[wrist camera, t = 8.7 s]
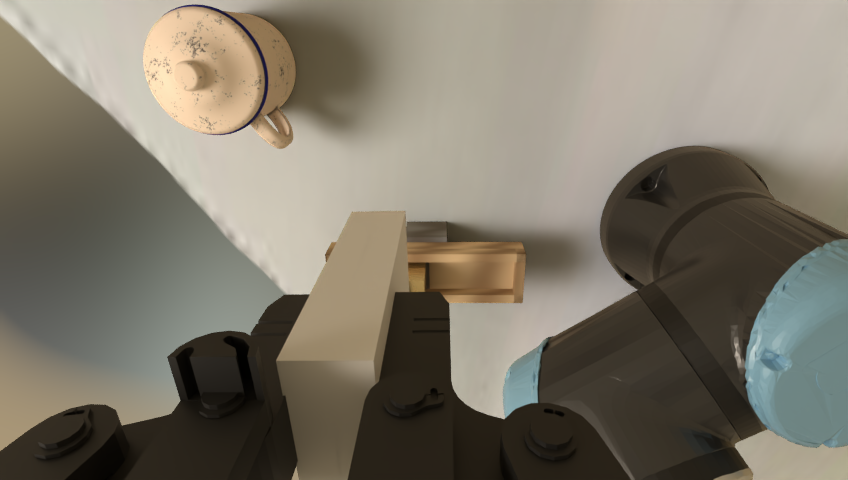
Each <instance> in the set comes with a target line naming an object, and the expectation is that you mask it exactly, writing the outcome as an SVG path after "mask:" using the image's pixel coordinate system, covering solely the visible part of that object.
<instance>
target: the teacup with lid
mask: <svg viewBox="0 0 848 480" xmlns="http://www.w3.org/2000/svg"><path fill="white" fill-rule="evenodd" d="M143 60H144V70H145V75H146V79H147V82H148V84H149V87H150V89H151V91H152V93H153V95H154V97H155V98H156V100H157V101H158V103H159V104H160V105H161V107H162V108H163V109H164V110H165V111H166V112H167V113H168V114H169V115H170V116H171V117H172V118H174V119H175V120H176V121H178V122H179V123H181V124H182V125H184V126H186V127H188V128H190V129H192V130H195V131H198V132H201V133H205V134H211V135H225V134H231V133H234V132H237V131H239V130H241V129H243V128H245V127H246V126H248V125H249V124H251V126H252V127H253V128H254V129H255V130H256V132H257V133H258V134H259V135H260V136H261V137H262V138H263V139H264V140H265V141H266V142H267V143H269V144H270V145H272V146H273V147H276V148H279V149H282V148H285V147H287V146H288V145H289V144H290V143H291V142H292V140H293V131H292V127H291V125H290V123H289V121H288V119H287V118H286V116H285V115H284V114H283V112H282V111H281V110H280V107H281V106H282V105H283V104H284V103H285V102H286V101H287V99H288V98H289V96H290V94H291V92H292V90H293V87H294V84H295V78H296V67H295V60H294V57H293V53H292V51H291V48H290V46H289V44H288V43H287V41H286V39H285V38H284V37H283V35H282V34H281V33H280V32H279V31H278V30H277V29H276V28H275V27H274V26H273V25H272V24H270V23H269V22H267V21H265V20H264V19H262V18H260V17H257V16H254V15H250V14H244V13H235V12H226V11H221V10H219V9H216V8H213V7H210V6H205V5H185V6H181V7H178V8H175V9H173V10H171V11H169V12H168V13H166V14H165V15H163V16H162V17H161V18H160V19H159V20H158V21H157V22H156V23H155V24H154V26H153V27H152V29H151V30H150V32H149V34H148V37H147V39H146V43H145V47H144V56H143ZM264 115H268V117H269V118H270V119H271V120H272V122H273V123H274V125H275V126H276V128H277V130H278V132H279V133H278V132H277V131H276V130H275V129H274V128H273V127H272V126H271V125H270V124H269V122H268V121H267V120H266V119H265V118H264Z"/></svg>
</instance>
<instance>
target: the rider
mask: <svg viewBox="0 0 848 480" xmlns="http://www.w3.org/2000/svg"><path fill="white" fill-rule="evenodd" d="M408 275H409V292H426V262H408Z"/></svg>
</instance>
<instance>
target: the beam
mask: <svg viewBox="0 0 848 480" xmlns="http://www.w3.org/2000/svg"><path fill="white" fill-rule="evenodd" d="M406 236H407V256H408V262H426V292H440V293H441V294H442V295H443V297H444V298H445V299H446V300H447V302H448V303H522V302H523V289H524V276H525V263H526V253H525V250H524V247H523V245H522V242H447V222H407V227H406ZM335 244H336V242H332V243H331V245H330V247H329V248H328V250H327V252H326V254H325V256H326V262H327V260H328V258H329V256H330V254H331V252H332V250H333V248H334V246H335Z"/></svg>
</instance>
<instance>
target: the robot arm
mask: <svg viewBox="0 0 848 480" xmlns="http://www.w3.org/2000/svg"><path fill="white" fill-rule="evenodd" d="M600 238H601V244H602V248H603V251H604V253H605V255H606V257H607V259H608V261H609V262H610V264H611V265H612V266H613V268H614V269H615V270H616V272H617V273H618V274H619V275H620V276H621V277H622V278H623V279H624V280H625V281H626V282H627V283H628V284H630V285H631V286H632V287H634V288H636V289H638V291H635V292H633V293H631V294H630V295H628V296H626V297H624V298H623V299H621V300H619V301H617V302H615V303H614V304H612V305H610V306H608V307H607V308H605V309H603V310H601V311H600V312H598V313H596V314H594V315H593V316H591V317H589V318H587V319H585V320H583V321H582V322H580V323H578V324H576V325H574V326H572V327H570V328H569V329H567V330H565V331H563V332H561V333H559V334H558V335H556V336H552V337H548V338H546V339H545V340H544V341H543V342H542V343H541V344H540V345H539V346H538V347H537V348H535V349H534V350H532V351H530V352H529V353H527V354H526V355H524V356H522V357H521V358H519V359H518V360H516V361H515V362H514V363H513V364H512V365H511V367H510V368H509V370H508V372H507V375H506V378H505V384H504V387H503V406H504V413H505V419H501V418H497V417H493V416H489V415H486V414H484V413H481V412H478V411H476V410H474V409H472V408H471V407H469V406H467V405H466V404H465V403H464V402H463V401H461V400H460V399H459V398H458V397H457V395H456V393H455V391H454V390H453V387H452V382H451V357H450V317H449V303H448V302H447V300H446V299H445V298H444V297H443V295H442V294H441V293H440V292H409V275H408V256H407V236H406V216H405V211H375V212H352V213H351V215H350V217H349V219H348V221H347V223H346V225H345V227H344V229H343V231H342V233H341V235H340V237H339V239H338V240H337V242H336V244H335V246H334V248H333V250H332V252H331V254H330V256H329V258H328V260H327V262H326V264H325V266H324V268H323V270H322V272H321V274H320V276H319V278H318V280H317V282H316V284H315V285H314V287H313V289H312V291H311V293H310V294H309V295H283V296H282V297H281V298H279V299H278V300H276V301H275V302H274V303H273V304H271V305H270V306H268V307H267V309H266V310H265V312H264V313H263V315H262V316H261V318H260V319H259V323H258V324H256V326H255V327H254V329H253V331H252V332H251V336H250V335H248V334H246V333H243V332H235V331H224V332H216V333H211V334H207V335H204V336H201V337H198V338H195V339H193V340H191V341H189V342H187V343H185V344H184V345H182V346H180V347H179V348H178V349H176V350H175V351H174V352H173V353H172V354H170V355H169V356H168V357H167V358H168V361H169V364H170V367H171V371H172V374H173V377H174V380H175V383H176V387H177V390H178V393H179V397H180V400H181V401H180V402H179V404H178V405H177V407H176V408H175V410H174V411H173V412H172V414H169V415H166V416H163V417H158V418H154V419H150V420H145V421H141V422H136V423H132V424H128V425H123V426H122V425H121V423H120V420H119V417H118V415H117V412H116V410H115V409H113V408H111V407H109V406H106V405H94V404H90V405H85V406H80V407H76V408H71V409H68V410H66V411H63V412H61V413H58V414H56V415H54V416H51V417H50V418H48V419H46V420H44V421H43V422H41V423H39V424H38V425H36V426H35V427H33V428H31V429H30V430H28V431H27V432H26V433H24V434H23V435H22V436H20V437H19V438H18V439H16V440H15V441H14V442H12V443H11V444H9V445H8V446H7V447H5V448H4V449H3V450H1V451H0V480H291V479H292V476H293V473H294V471H295V468H296V466H297V471H298V476H299V480H752V479H753V472H752V471H751V469H750V468H749V467H748V465H747V464H746V462H745V461H744V460H743V458H742V457H741V455H740V454H739V452H738V451H737V450H736V448H735V443H737V442H739V441H741V440H744V439H746V438H748V437H750V436H753V435H755V434H757V433H759V432H762V431H765V430H767V429H768V430H771V431H773V432H774V433H775V434H776V435H778V436H781V437H783V438H785V439H787V440H788V441H790V442H793V443H795V444H799V445H802V446H805V447H814V448H817V447H819V446H820V445H821V444H822V443H823V444H824V445H825V446H827V447H842V446H847V445H848V235H847V234H845V233H843V232H841V231H839V230H837V229H835V228H833V227H831V226H828V225H826V224H824V223H822V222H820V221H818V220H816V219H814V218H812V217H810V216H808V215H806V214H804V213H801V212H799V211H797V210H795V209H793V208H791V207H789V206H787V205H785V204H782V203H780V202H778V201H776V200H775V199H774V197H773V196H772V195H771V193H770V192H769V190H768V188H767V186H766V184H765V182H764V181H763V179H762V178H761V176H760V175H759V174H758V173H757V172H756V171H755V170H754V169H753V168H752V167H751V166H750V165H748V164H747V163H745V162H744V161H742V160H741V159H739V158H737V157H735V156H732V155H730V154H728V153H725V152H723V151H720V150H717V149H713V148H709V147H701V146H687V147H679V148H674V149H670V150H667V151H664V152H661V153H659V154H656V155H654V156H652V157H650V158H648V159H646V160H645V161H643V162H642V163H640V164H639V165H637V166H636V167H634V168H633V169H632V170H631V171H630V172H629V173H627V174H626V175H625V176H624V177H623V179H622V180H621V181H620V182H619V183H618V184H617V186H616V187H615V188H614V190H613V191H612V193H611V195H610V196H609V198H608V200H607V202H606V205H605V207H604V210H603V214H602V218H601V224H600Z"/></svg>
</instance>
